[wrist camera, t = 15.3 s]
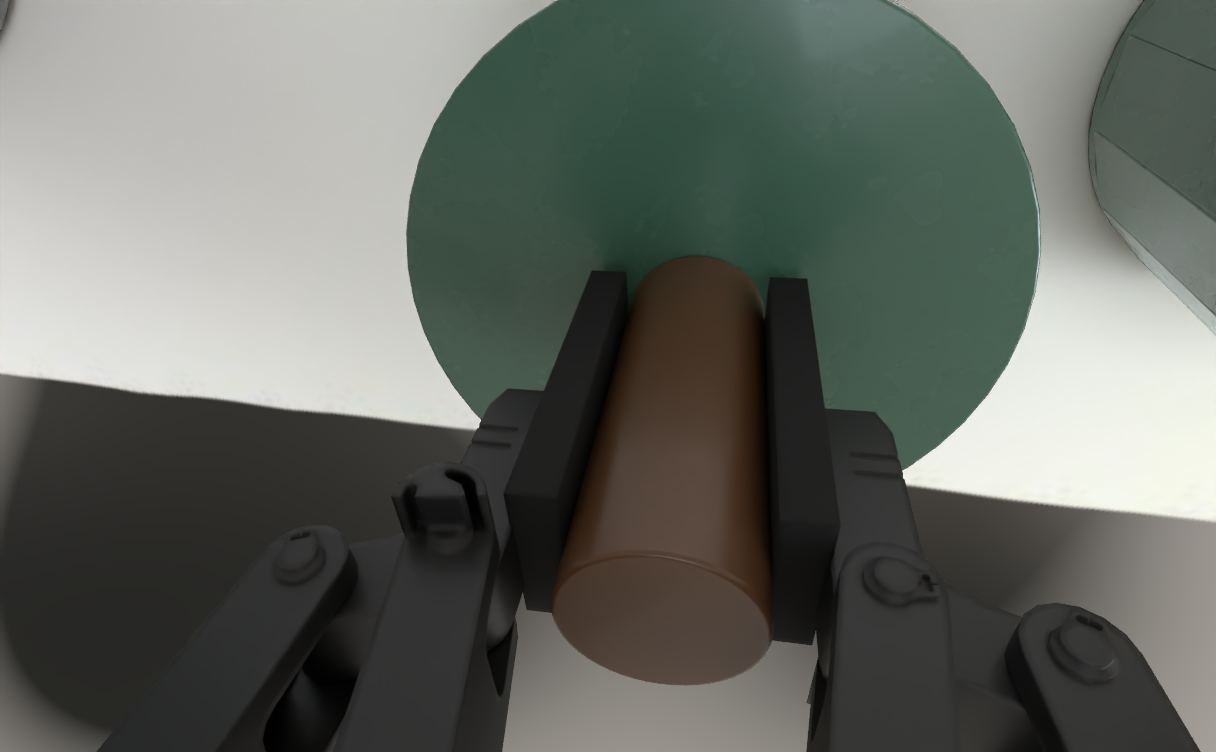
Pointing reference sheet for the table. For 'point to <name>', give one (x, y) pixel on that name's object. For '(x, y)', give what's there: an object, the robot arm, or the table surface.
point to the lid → (718, 272)
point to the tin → (1163, 146)
